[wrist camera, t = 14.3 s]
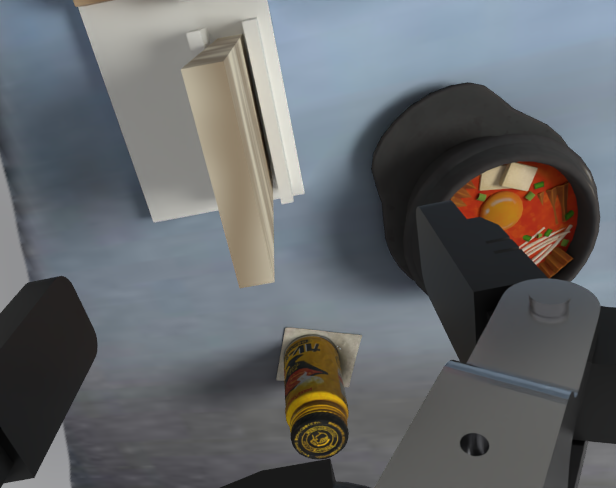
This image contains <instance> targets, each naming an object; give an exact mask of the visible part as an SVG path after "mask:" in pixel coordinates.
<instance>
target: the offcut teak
mask: <svg viewBox="0 0 616 488" xmlns="http://www.w3.org/2000/svg"><path fill="white" fill-rule="evenodd" d="M108 1H113V0H73V2H74V4H75V7H80V6H88V5H93V4H98V3H103V2H108Z"/></svg>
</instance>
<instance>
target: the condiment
mask: <svg viewBox="0 0 616 488" xmlns="http://www.w3.org/2000/svg"><path fill="white" fill-rule="evenodd" d="M361 337H362V335H353V334H343V333H333V332H326V331H319V330H308V329H297V328H285V333H284V338H283V344H282V349H281V355H280V360H279V366H278V372H277V378H276V380H278V381H284V383H285V401H286V408H285V413H286V421H287V423H288V425H289V427H290V432H291V441H292V444H293V446H294V448H295V449H296V450H297V452H298V453H299V454H301V455H303V456H305V457H308V458H311V459H327V458H329V457H332V456H334V455H335V454H337V453H338V452H340V451H341V450H342V449H343V448H344V447H345V445H346V443H347V440H348V435H349V432H348V428H347V419H348V405H347V400H346V395H345V389H344V387H349V384H350V379H351V375H352V371H353V367H354V363H355V359H356V355H357V352H358V348H359V344H360V341H361ZM337 346H338V347H337ZM339 348H341V350H340V349H339Z"/></svg>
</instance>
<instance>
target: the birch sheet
mask: <svg viewBox="0 0 616 488" xmlns="http://www.w3.org/2000/svg"><path fill="white" fill-rule="evenodd" d="M181 72H182V76H183V80H184V83H185V87H186V91H187V94H188V98H189V102H190V106H191V109H192V113H193V117H194V120H195V124H196V128H197V132H198V135H199V139H200V143H201V146H202V150H203V154H204V158H205V161H206V165H207V169H208V172H209V176H210V180H211V184H212V187H213V191H214V195H215V198H216V202H217V206H218V210H219V213H220V217H221V221H222V224H223V228H224V232H225V236H226V239H227V243H228V247H229V250H230V254H231V258H232V262H233V265H234V269H235V273H236V276H237V280H238V284H239V288H244V287H250V286H255V285H261V284H266V283H272V282H274V228H273V177H272V172H271V167H270V163H269V158H268V153H267V148H266V143H265V139H264V134H263V129H262V124H261V119H260V115H259V110H258V105H257V100H256V96H255V91H254V86H253V81H252V76H251V72H250V67H249V62H248V57H247V52H246V48H245V43H244V38H243V34H239V35H234V36H228V37H223V38H217V39H216V40H215V41H214V42H213V43H211V44H210V45H209V46H208V47H207V48H205V49H204V50H203V51H202V52H201V53H199V54H198V55H197V56H196V57H195V58H193V59H192V60H191V61H190V62H189V63H187V64H186V65H185V66H184V67H183V68H182V69H181Z"/></svg>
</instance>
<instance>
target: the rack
mask: <svg viewBox="0 0 616 488" xmlns="http://www.w3.org/2000/svg"><path fill="white" fill-rule="evenodd" d="M78 9H79V11H80V14H81V17H82V20H83V23H84V26H85V28H86V31H87V34H88V37H89V40H90V43H91V46H92V48H93V51H94V54H95V57H96V60H97V63H98V65H99V68H100V71H101V74H102V77H103V80H104V83H105V85H106V88H107V91H108V94H109V97H110V100H111V102H112V105H113V108H114V111H115V114H116V117H117V120H118V122H119V125H120V128H121V131H122V134H123V137H124V139H125V142H126V145H127V148H128V151H129V154H130V157H131V159H132V162H133V165H134V168H135V171H136V174H137V176H138V179H139V182H140V185H141V188H142V191H143V193H144V196H145V199H146V202H147V205H148V208H149V211H150V213H151V216H152V219H153V222H154V223H155V222H160V221H165V220H170V219H175V218H181V217H186V216H191V215H196V214H201V213H207V212H212V211H217V210H218V206H217V202H216V198H215V195H214V191H213V187H212V184H211V180H210V176H209V172H208V169H207V165H206V161H205V158H204V154H203V150H202V146H201V143H200V139H199V135H198V132H197V128H196V124H195V120H194V117H193V113H192V109H191V106H190V102H189V98H188V94H187V91H186V87H185V83H184V80H183V76H182V72H181V69H182V68H183V67H184V66H185V65H186V64H187V63H189V62H190V61H191V60H192V59H193V58H195V57H196V56H197V55H198V54H199V53H201V52H202V51H203V50H204V49H205V48H207V47H208V46H209V45H210V44H211V43H213V42H214V41H215V40H216V39H217V38H223V37H228V36H234V35H239V34H243V38H244V43H245V48H246V52H247V57H248V62H249V67H250V72H251V76H252V81H253V86H254V91H255V96H256V100H257V105H258V110H259V115H260V119H261V124H262V129H263V134H264V139H265V143H266V148H267V153H268V158H269V163H270V167H271V172H272V177H273V200H274V199H279V198H280V199H281V203H282V204H286V203H291V202H294V201H293V196H295V195H300V194H305V193H304V187H303V182H302V177H301V172H300V167H299V161H298V156H297V151H296V146H295V141H294V136H293V130H292V125H291V120H290V115H289V110H288V104H287V99H286V94H285V89H284V84H283V79H282V73H281V68H280V63H279V58H278V53H277V48H276V42H275V37H274V32H273V27H272V22H271V16H270V11H269V6H268V1H267V0H113V1H108V2H103V3H98V4H93V5H88V6H80V7H78Z"/></svg>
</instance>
